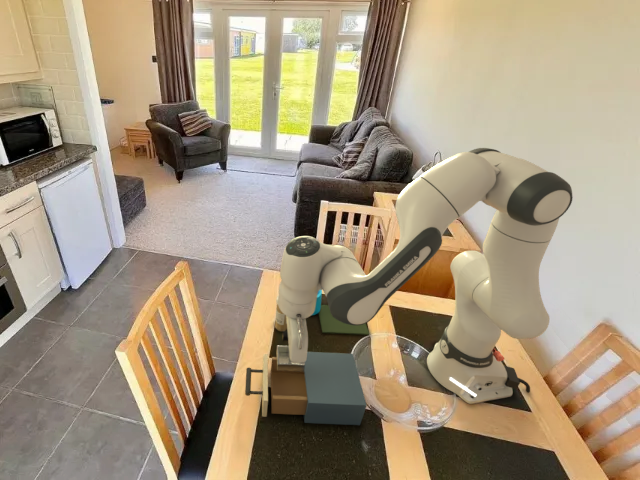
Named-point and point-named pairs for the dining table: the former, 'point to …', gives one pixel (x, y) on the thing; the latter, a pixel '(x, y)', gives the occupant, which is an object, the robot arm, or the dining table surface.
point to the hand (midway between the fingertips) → (292, 338)
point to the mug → (318, 302)
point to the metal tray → (287, 359)
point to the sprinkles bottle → (280, 319)
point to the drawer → (280, 389)
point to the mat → (338, 324)
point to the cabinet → (333, 389)
